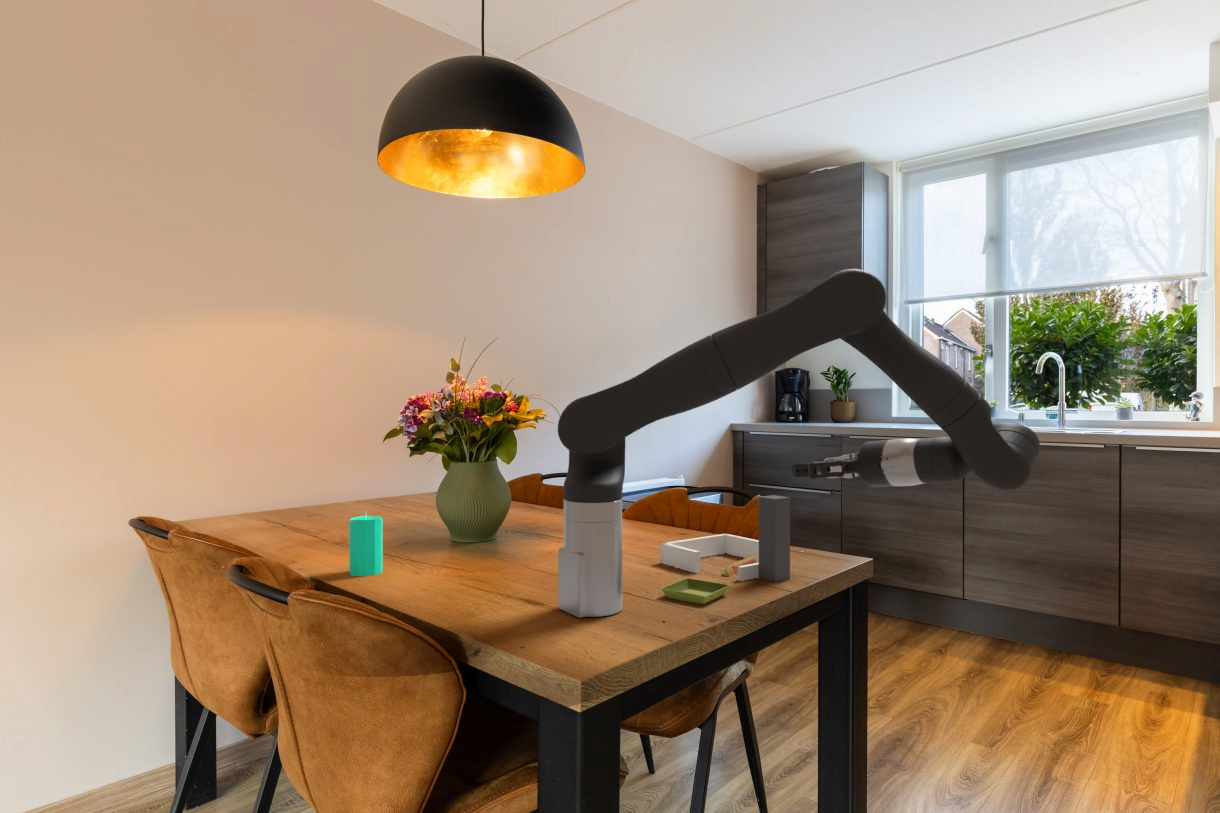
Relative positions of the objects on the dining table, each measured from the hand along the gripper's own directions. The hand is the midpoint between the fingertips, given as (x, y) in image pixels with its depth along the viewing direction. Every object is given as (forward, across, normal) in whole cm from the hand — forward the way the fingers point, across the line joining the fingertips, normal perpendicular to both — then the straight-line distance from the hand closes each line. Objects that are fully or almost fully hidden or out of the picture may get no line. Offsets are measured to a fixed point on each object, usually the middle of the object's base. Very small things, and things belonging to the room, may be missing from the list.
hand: (807, 468), depth 123 cm
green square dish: (+11, +21, +19) cm, 31 cm away
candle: (+64, +55, +11) cm, 85 cm away
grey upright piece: (+9, +1, +20) cm, 22 cm away
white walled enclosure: (+25, -1, +18) cm, 31 cm away
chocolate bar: (+18, 0, +19) cm, 26 cm away
